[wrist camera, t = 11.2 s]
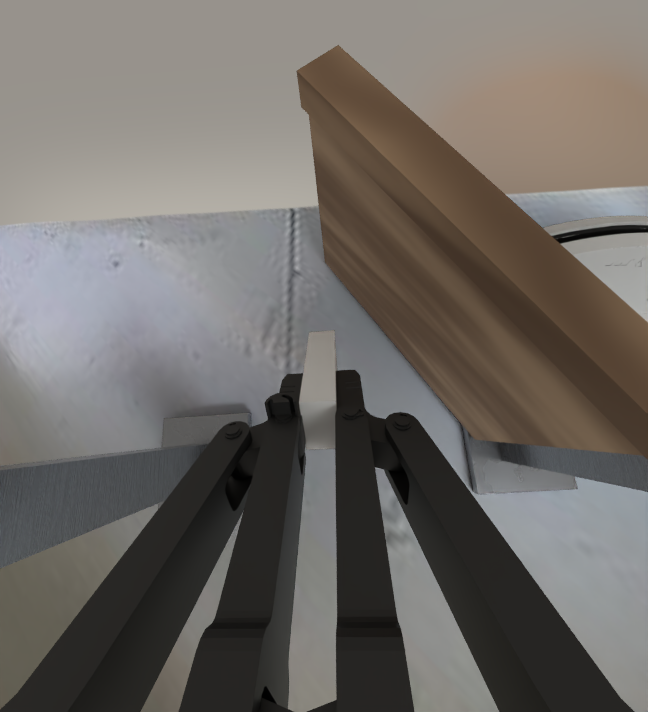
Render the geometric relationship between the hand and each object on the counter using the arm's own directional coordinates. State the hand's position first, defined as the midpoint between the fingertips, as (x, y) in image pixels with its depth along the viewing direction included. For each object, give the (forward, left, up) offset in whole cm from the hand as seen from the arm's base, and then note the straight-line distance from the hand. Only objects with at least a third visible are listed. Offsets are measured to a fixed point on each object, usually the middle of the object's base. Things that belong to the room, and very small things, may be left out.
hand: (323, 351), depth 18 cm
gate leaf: (+1, -8, -9) cm, 12 cm away
